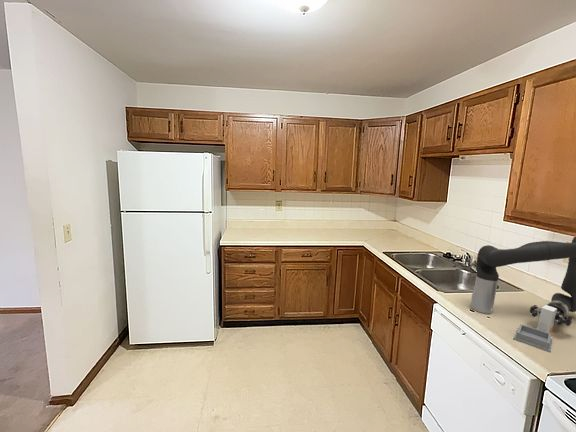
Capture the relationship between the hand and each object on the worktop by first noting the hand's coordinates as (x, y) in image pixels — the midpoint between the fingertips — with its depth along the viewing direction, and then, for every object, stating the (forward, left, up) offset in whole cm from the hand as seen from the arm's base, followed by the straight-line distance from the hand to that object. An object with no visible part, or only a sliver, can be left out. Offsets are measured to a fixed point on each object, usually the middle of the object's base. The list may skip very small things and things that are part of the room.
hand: (545, 319), depth 132 cm
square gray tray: (-3, -10, -7) cm, 13 cm away
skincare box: (0, +2, -7) cm, 8 cm away
